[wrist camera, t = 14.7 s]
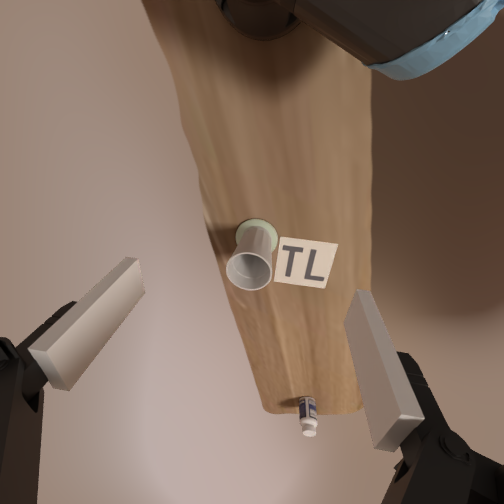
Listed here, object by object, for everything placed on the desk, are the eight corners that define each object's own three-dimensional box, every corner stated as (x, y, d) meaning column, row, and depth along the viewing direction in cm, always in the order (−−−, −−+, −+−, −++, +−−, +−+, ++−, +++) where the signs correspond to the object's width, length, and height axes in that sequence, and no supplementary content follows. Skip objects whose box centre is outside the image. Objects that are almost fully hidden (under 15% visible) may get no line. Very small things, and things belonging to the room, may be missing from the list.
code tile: (280, 235, 52) (280, 236, 51) (337, 243, 51) (338, 244, 50) (273, 280, 58) (273, 281, 58) (324, 287, 57) (324, 288, 57)
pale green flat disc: (236, 216, 50) (236, 217, 50) (280, 221, 50) (280, 222, 49) (235, 252, 55) (234, 254, 55) (274, 258, 54) (274, 259, 54)
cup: (261, 261, 55) (254, 297, 44) (231, 241, 53) (217, 274, 43) (283, 236, 51) (281, 270, 40) (252, 214, 49) (242, 243, 39)
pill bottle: (300, 404, 84) (301, 437, 75) (298, 395, 81) (298, 428, 73) (316, 404, 82) (319, 438, 74) (314, 395, 80) (317, 429, 71)
